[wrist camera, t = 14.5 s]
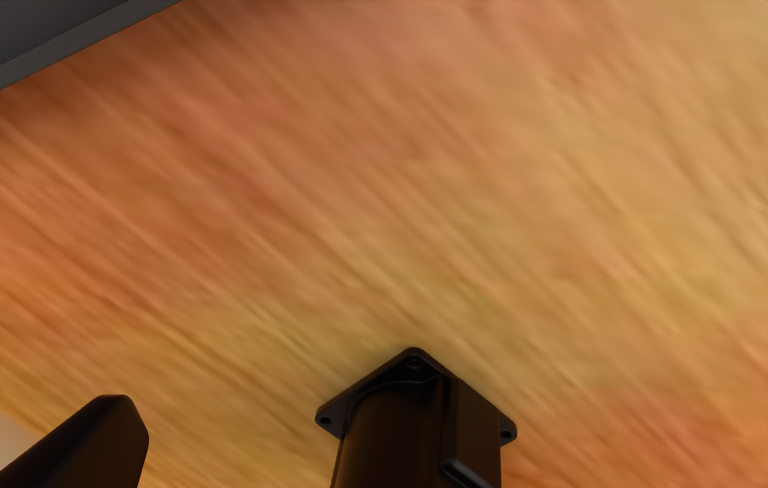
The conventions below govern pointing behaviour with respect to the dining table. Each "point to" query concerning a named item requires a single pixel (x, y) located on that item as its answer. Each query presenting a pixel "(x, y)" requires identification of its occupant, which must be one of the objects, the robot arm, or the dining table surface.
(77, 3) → the grid
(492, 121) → the dining table surface
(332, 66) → the dining table surface
